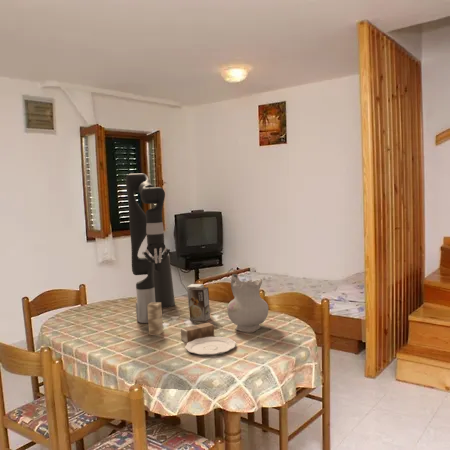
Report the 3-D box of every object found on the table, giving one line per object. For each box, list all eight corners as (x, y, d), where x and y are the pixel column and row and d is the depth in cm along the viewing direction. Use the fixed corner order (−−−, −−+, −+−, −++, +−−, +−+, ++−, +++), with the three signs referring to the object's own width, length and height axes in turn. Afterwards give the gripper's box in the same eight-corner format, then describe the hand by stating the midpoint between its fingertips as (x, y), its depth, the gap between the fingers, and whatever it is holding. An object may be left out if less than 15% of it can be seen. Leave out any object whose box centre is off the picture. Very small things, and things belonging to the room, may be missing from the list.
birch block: (149, 334, 211) (147, 305, 210) (153, 331, 216) (151, 302, 215) (159, 334, 210) (157, 305, 209) (163, 331, 215) (161, 302, 214)
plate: (195, 361, 176) (195, 357, 176) (179, 345, 195) (178, 342, 195) (244, 351, 184) (244, 347, 184) (223, 337, 203) (223, 333, 203)
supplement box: (205, 305, 260) (204, 283, 259) (200, 309, 253) (199, 286, 252) (193, 305, 262) (192, 283, 261) (188, 308, 255) (186, 286, 254)
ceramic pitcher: (216, 330, 216) (211, 279, 212) (243, 317, 230) (238, 269, 226) (252, 339, 201) (247, 284, 197) (278, 325, 215) (273, 273, 211)
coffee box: (210, 318, 234) (209, 287, 233) (205, 321, 228) (204, 289, 227) (194, 317, 237) (193, 286, 236) (189, 320, 232) (187, 289, 230)
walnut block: (185, 331, 197) (213, 324, 205) (180, 328, 202) (208, 322, 209) (186, 342, 198) (214, 335, 205) (181, 339, 202) (208, 333, 209)
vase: (179, 303, 267) (176, 254, 265) (161, 309, 257) (158, 258, 255) (164, 300, 276) (162, 253, 274) (146, 305, 266) (143, 256, 264)
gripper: (144, 234, 195) (147, 274, 197) (172, 231, 202) (174, 270, 204) (137, 233, 202) (140, 272, 203) (165, 230, 209) (167, 267, 210)
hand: (157, 271), depth 204 cm, fingers closed
